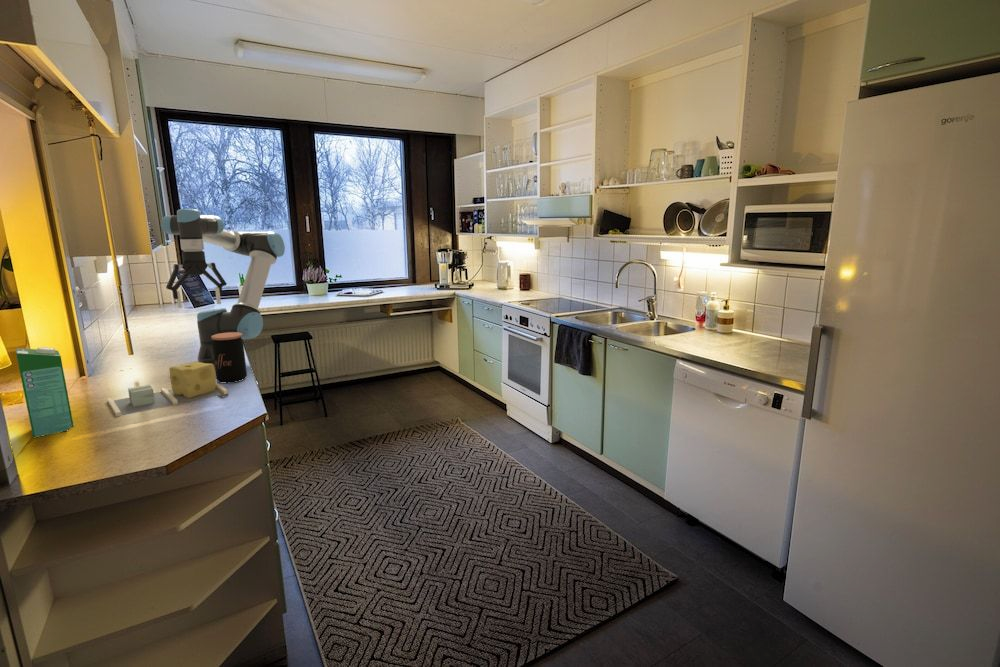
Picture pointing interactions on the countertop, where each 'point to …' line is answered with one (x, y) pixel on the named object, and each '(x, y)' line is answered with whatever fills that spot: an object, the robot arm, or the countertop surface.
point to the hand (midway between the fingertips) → (199, 305)
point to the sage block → (141, 395)
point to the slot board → (161, 400)
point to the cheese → (193, 379)
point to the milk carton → (44, 390)
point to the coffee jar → (229, 357)
